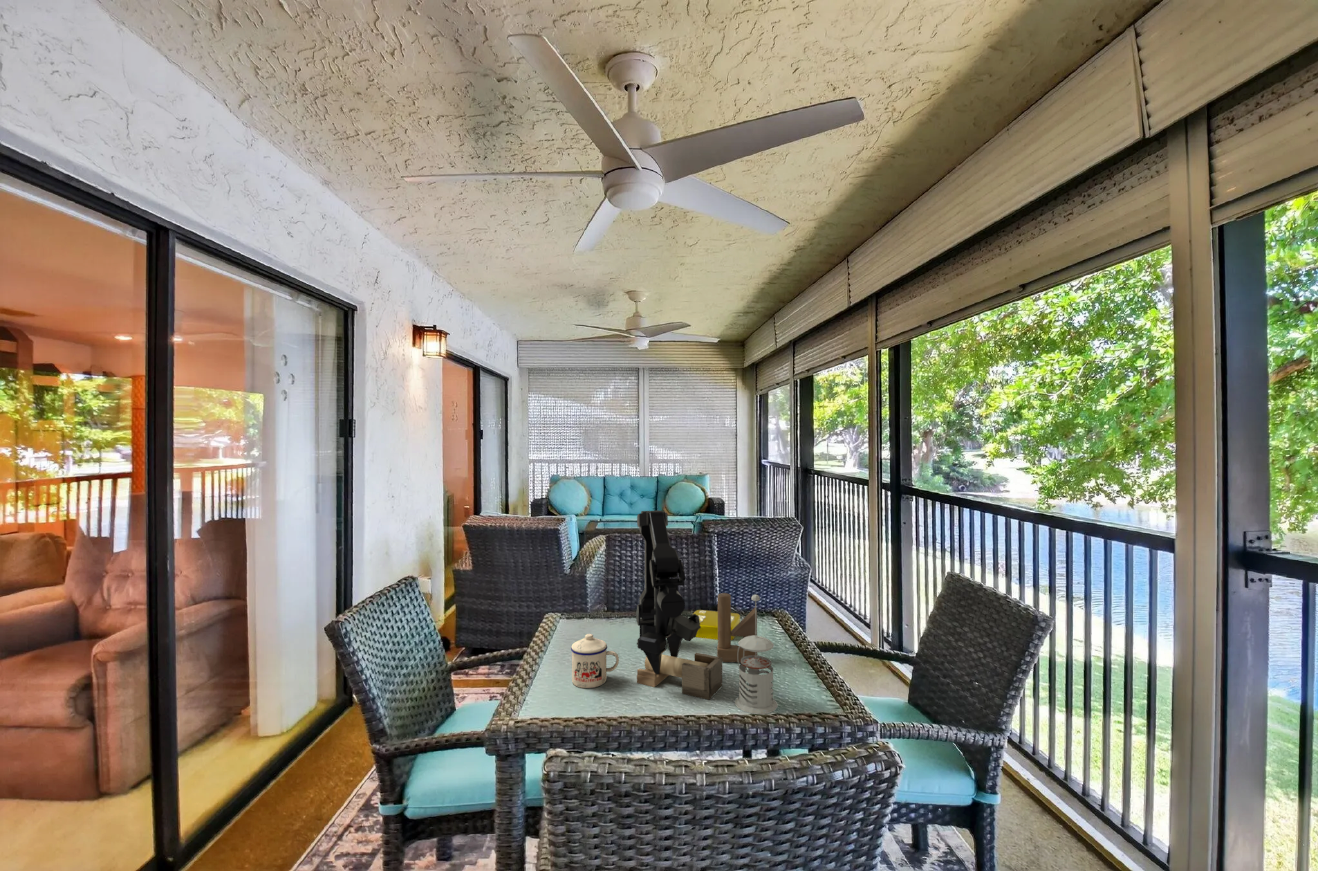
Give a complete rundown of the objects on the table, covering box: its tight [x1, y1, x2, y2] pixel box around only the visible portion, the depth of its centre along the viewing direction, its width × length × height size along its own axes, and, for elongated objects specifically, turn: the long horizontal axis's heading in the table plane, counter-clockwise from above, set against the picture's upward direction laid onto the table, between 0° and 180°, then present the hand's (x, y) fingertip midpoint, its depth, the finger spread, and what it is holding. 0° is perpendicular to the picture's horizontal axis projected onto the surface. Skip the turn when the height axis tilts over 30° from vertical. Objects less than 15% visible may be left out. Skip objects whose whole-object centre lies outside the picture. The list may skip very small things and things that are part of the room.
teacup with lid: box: [570, 633, 620, 689], centre depth 142 cm, size 12×9×12 cm
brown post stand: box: [716, 592, 758, 663], centre depth 154 cm, size 4×11×18 cm, turn 86°
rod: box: [644, 653, 709, 679], centre depth 140 cm, size 16×4×4 cm, turn 62°
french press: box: [734, 594, 779, 715], centre depth 130 cm, size 10×12×25 cm
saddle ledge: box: [636, 668, 670, 688], centre depth 143 cm, size 5×8×3 cm, turn 152°
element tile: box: [692, 609, 741, 641], centre depth 178 cm, size 15×15×5 cm
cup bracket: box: [681, 652, 724, 701], centre depth 136 cm, size 7×8×7 cm
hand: (665, 667), depth 141 cm, fingers open, 9 cm apart
